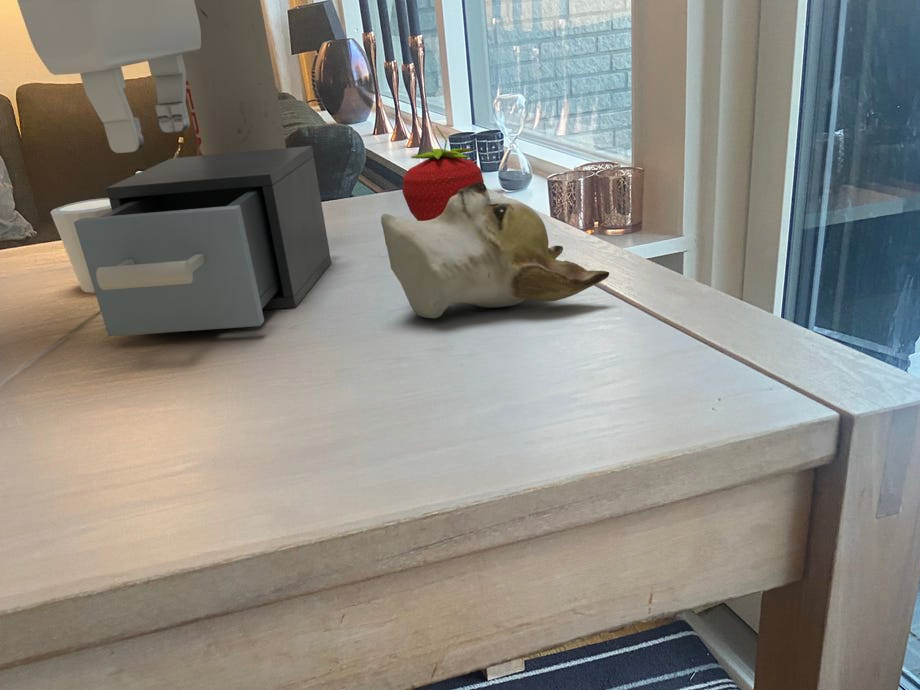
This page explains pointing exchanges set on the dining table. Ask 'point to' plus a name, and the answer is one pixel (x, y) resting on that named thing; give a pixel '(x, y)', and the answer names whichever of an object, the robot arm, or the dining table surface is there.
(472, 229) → the ceramic sculpture
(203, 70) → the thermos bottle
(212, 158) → the drawer cabinet
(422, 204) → the strawberry
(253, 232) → the grey drawer
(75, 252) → the white tapered cup
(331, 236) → the dining table surface
